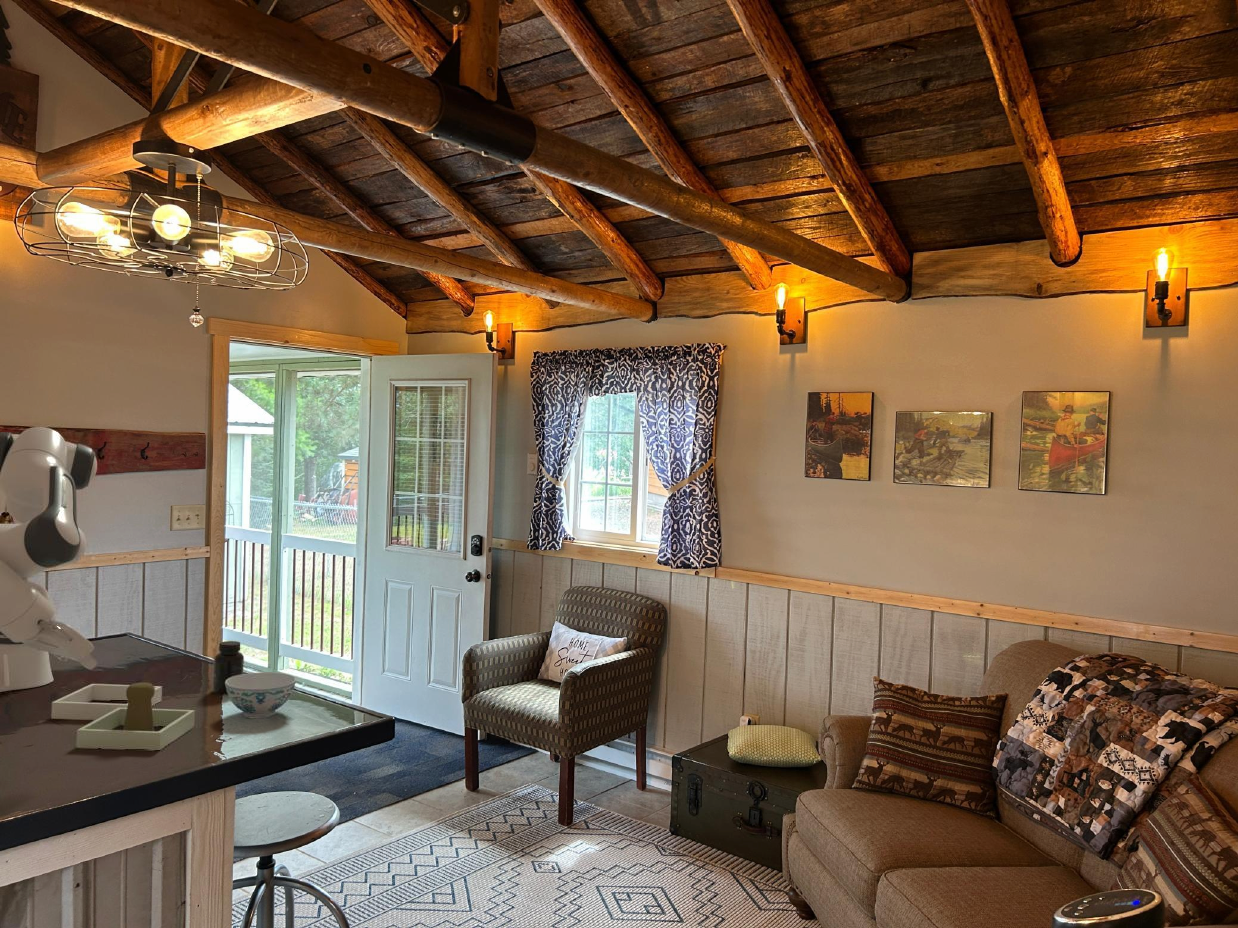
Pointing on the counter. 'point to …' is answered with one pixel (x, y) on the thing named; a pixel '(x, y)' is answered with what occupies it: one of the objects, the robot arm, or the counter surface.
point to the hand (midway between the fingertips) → (79, 662)
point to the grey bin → (82, 710)
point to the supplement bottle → (227, 665)
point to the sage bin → (106, 738)
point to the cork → (139, 707)
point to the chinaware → (260, 692)
